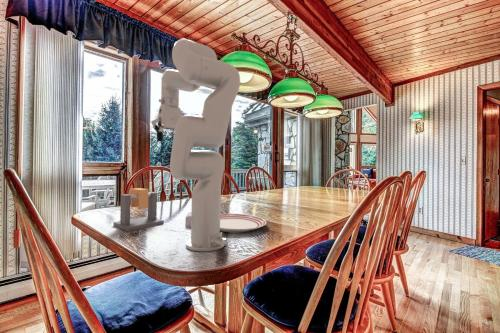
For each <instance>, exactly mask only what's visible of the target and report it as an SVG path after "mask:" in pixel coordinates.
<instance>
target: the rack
mask: <svg viewBox="0 0 500 333" xmlns="http://www.w3.org/2000/svg"><path fill="white" fill-rule="evenodd" d="M137 198H138V194H131V193H130V194H128V193H127V194H120V215H119V216H120V218H119V219H120V221H119V220H118V221H113V226H114V227H116V228H118V229H121V230H123V231H127V232H130V231H136V230H140V229H145V228H150V227H154V226H158V225H160V226H161V225H164V224H165V223H164V222H165V221H164V220H163V219H159V218H157V215H158V214H157V213H158V212H157V211H158V210H157V209H158V208H157V206H158V205H157V203H158V193H157V192H155V191H148V208H147V216H144V217H137V218H131V199H137Z"/></svg>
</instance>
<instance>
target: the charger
mask: <svg viewBox="0 0 500 333" xmlns="http://www.w3.org/2000/svg"><path fill="white" fill-rule="evenodd" d="M191 212H192V211H190V212H188V213H187V214H186V216H185V224H184V225H185V227H187V228H188V227H189V228H191Z"/></svg>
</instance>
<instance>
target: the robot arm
mask: <svg viewBox="0 0 500 333" xmlns="http://www.w3.org/2000/svg"><path fill="white" fill-rule="evenodd" d="M217 56H218V55H217V54H216V52H215V50H214V49H212V48H211V47H210V46H208V45H205V44H202V43H198V42H197V41H193V40H190V39H187V38H180V39H179V40H177V41H175V43H174V45H173V48H172V51H171V57H172V62H173V65H174V67H175V68H176V69H170V68H169V69H166V70H164V72H163V73H162V77H161V83H160V84H161V85H160V86H161V87H160V88H161V91H160V92H161V93H160V94H161V98H160V99H159V100H158V103H160V105H159V108H158V109H159V110H158V114H157V118H155V119H153V120H151V121H150V122H151V125H152V128H153V130H154V131H155V133H156V141H157V142H163V140H164V139H163V136H164V134H163V130H164V129H165V130H170V131H174V132H173V140H172V146H171V147H172V148H171V153H170V160H169V161H170V162H169V171H170V174H171V176H172V177H173V178H174V179H176V180H179V181H185V180H186V181H187V180H190V181H191V180H197V183H196V184H195V185H194V188H193V189H192V192H191V211H190V212H191V227H190V238H189V239H188V240H187V241H186V243H185V246H186V248H187V249H188V250H190V251H193V252H194V251H195V252H213V251H217V250H220V249H222V248H223V247H224V246H225V245H226V244H227V243H228V239H227V238H225V237H223V232H222V231H220V214H221V204H222V200H221V198H222V182H223V175H224V172H225V171H224V170H225V166H226V165H225V159H224V157H223V156H222V154H221V153H219V152H217V151H213V150H209V149H208V148H212V149H215V148H221V147H222V146H223V145H224V143H225V140H226V137H227V133H228V128H229V123H230V118H231V112H232V108H233V105H234V102H235V101H236V97H237V95H238V93H239V90H240V85H241V77H240V72H239V70H238V69H237V68H236V67H235V66H234V65H232V64H230V63H228V62H225V61H222V60H219V59H218V57H217ZM201 87H205V88H212V89H214V90H212V91H211V93H209V94H208V96H207V97H206V98H205V100H204V104H203V109H202V113H201V115H194V114H184V115H182V110H181V107H180V104H179V103H180V97H179V96H180V91H183V92H188V93H189V92H190V93H191V92H192V93H193V92H195V91H197V90H198V89H200V88H201ZM193 148H206V149H208V150H202V149H193Z"/></svg>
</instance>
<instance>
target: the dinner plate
mask: <svg viewBox="0 0 500 333" xmlns="http://www.w3.org/2000/svg"><path fill="white" fill-rule="evenodd" d="M266 225H267V221H266V219H264V218H262V217H259V216H256V215H253V214H252V215H251V214H246V213H244V214H243V213H220V232H225V233H245V232H246V231H247V232H251V231H255V230H257V229H259V228H261V227H264V226H266ZM250 230H251V231H250Z"/></svg>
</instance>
